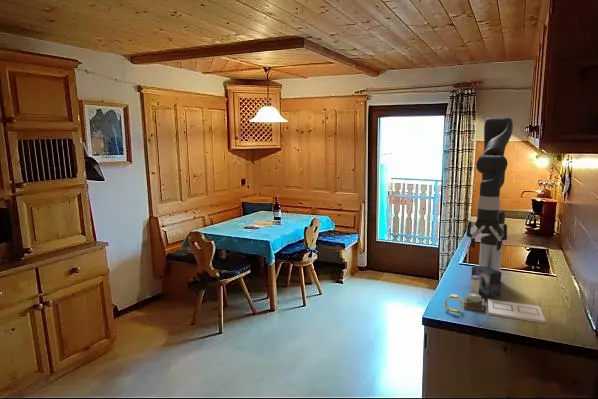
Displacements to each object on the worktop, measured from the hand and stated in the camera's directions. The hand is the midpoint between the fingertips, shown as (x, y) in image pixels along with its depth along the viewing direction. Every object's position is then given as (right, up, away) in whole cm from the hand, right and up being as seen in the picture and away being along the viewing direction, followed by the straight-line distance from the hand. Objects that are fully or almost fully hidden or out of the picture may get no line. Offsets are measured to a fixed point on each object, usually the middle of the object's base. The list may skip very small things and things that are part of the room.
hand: (485, 249), depth 163 cm
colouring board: (+8, -23, -6) cm, 25 cm away
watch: (-15, -22, -7) cm, 28 cm away
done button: (-6, -20, -3) cm, 21 cm away
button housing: (-6, -22, -3) cm, 23 cm away
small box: (+6, -21, +14) cm, 26 cm away
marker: (-1, -21, +7) cm, 22 cm away
